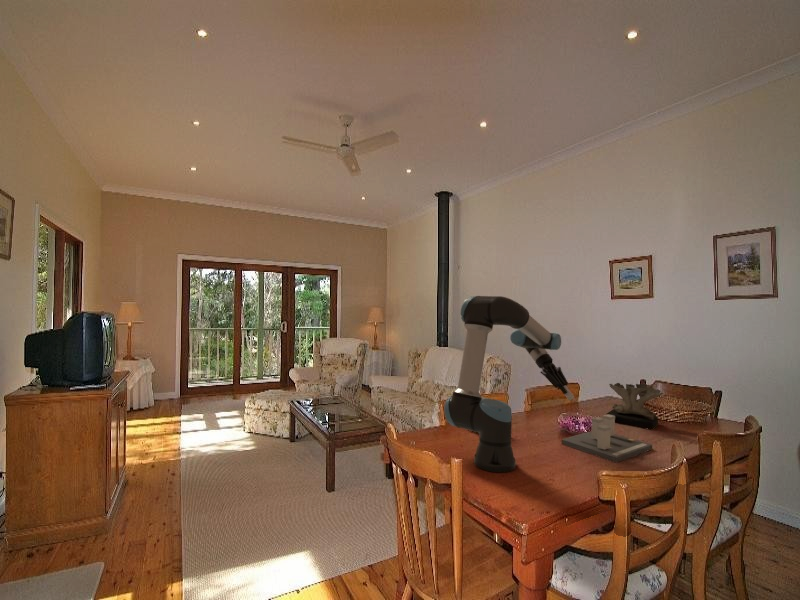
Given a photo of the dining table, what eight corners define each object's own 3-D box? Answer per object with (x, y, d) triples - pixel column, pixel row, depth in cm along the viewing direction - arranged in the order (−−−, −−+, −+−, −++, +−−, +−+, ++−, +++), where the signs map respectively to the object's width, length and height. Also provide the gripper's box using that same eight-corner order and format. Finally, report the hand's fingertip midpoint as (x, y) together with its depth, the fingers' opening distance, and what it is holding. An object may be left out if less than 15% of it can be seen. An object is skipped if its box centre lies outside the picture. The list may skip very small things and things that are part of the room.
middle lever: (598, 440, 175) (598, 420, 175) (591, 438, 178) (591, 418, 178) (603, 438, 177) (603, 418, 178) (596, 436, 180) (596, 416, 180)
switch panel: (616, 462, 157) (616, 457, 157) (561, 443, 177) (561, 439, 177) (652, 449, 172) (652, 444, 172) (597, 433, 192) (598, 429, 192)
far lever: (609, 436, 180) (610, 417, 180) (602, 434, 183) (603, 415, 183) (614, 435, 182) (615, 415, 182) (607, 433, 185) (608, 414, 185)
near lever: (604, 449, 163) (605, 428, 164) (597, 447, 166) (597, 426, 166) (610, 448, 166) (610, 426, 166) (602, 445, 168) (603, 424, 168)
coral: (666, 425, 206) (667, 383, 207) (656, 434, 192) (657, 389, 192) (612, 415, 224) (613, 376, 224) (600, 423, 209) (601, 381, 209)
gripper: (545, 361, 204) (575, 401, 190) (528, 363, 197) (557, 405, 183) (554, 352, 200) (585, 392, 186) (537, 353, 193) (568, 396, 179)
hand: (571, 399), depth 185 cm, fingers closed
